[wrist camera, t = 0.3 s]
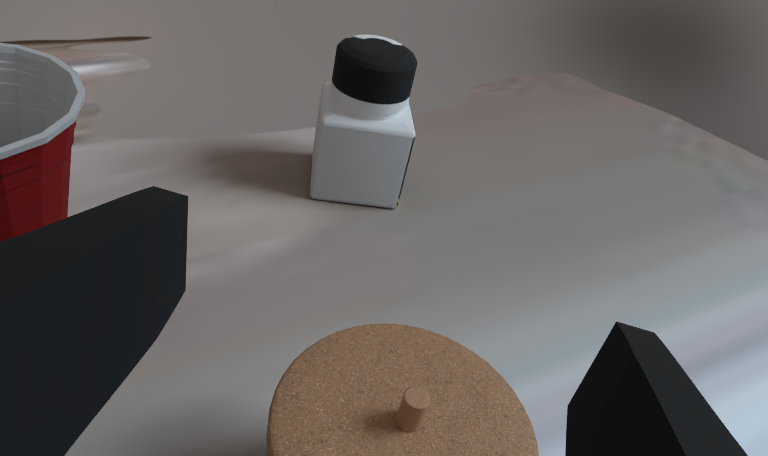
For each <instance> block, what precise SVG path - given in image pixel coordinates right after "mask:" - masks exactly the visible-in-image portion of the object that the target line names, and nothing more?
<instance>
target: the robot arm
mask: <svg viewBox="0 0 768 456" xmlns="http://www.w3.org/2000/svg"><path fill="white" fill-rule="evenodd" d="M187 218H188V196H185V195H182V194H178V193H175V192H172V191H168V190H165V189H161V188H158V187H155V186H153V187H149V188H146V189H143V190H140V191H137V192H134V193H131V194H129V195H126V196H123V197H120V198H118V199H115V200H112V201H110V202H107V203H105V204H102V205H99V206H97V207H94V208H92V209H89V210H86V211H84V212H81V213H78V214H76V215H73V216H70V217H68V218H65V219H62V220H60V221H57V222H54V223H52V224H49V225H46V226H44V227H41V228H38V229H36V230H33V231H30V232H27V233H25V234H22V235H19V236H16V237H13V238H10V239H7V240H4V241H1V242H0V456H64V455H65V454H66V453H67V451H68V450H69V449H70V447H71V446H72V445H73V444H74V442H75V441H76V440H77V439H78V437H79V436H80V435H81V434H82V432H83V431H84V430H85V429H86V427H87V426H88V425H89V424H90V422H91V421H92V420H93V419H94V417H95V416H96V415H97V414H98V412H99V411H100V410H101V409H102V407H103V406H104V405H105V404H106V402H107V401H108V400H109V399H110V397H111V396H112V395H113V394H114V392H115V391H116V390H117V389H118V387H119V386H120V385H121V384H122V382H123V381H124V380H125V379H126V377H127V376H128V375H129V373H130V372H131V371H132V370H133V368H134V367H135V366H136V365H137V363H138V362H139V361H140V360H141V358H142V357H143V356H144V354H145V353H146V352H147V351H148V349H149V348H150V347H151V345H152V344H153V343H154V341H155V340H156V339H157V337H158V336H159V334H160V332H161V331H162V329H163V328H164V326H165V324H166V323H167V321H168V319H169V318H170V316H171V314H172V313H173V311H174V309H175V308H176V306H177V304H178V302H179V301H180V299H181V297H182V295H183V294H184V292H185V286H186V252H187ZM566 456H748V455H747V454H746V453H745V451H744V450H743V449H742V448H741V446H740V445H739V444H738V442H737V441H736V440H735V439H734V437H733V436H732V435H731V433H730V432H729V431H728V429H727V428H726V427H725V425H724V424H723V423H722V421H721V420H720V419H719V417H718V416H717V415H716V413H715V412H714V411H713V409H712V408H711V407H710V405H709V404H708V403H707V401H706V400H705V399H704V397H703V396H702V395H701V393H700V392H699V390H698V389H697V388H696V386H695V385H694V384H693V382H692V381H691V380H690V378H689V377H688V375H687V374H686V373H685V371H684V370H683V369H682V367H681V366H680V365H679V363H678V362H677V361H676V359H675V358H674V357H673V355H672V354H671V353H670V351H669V350H668V349H667V348H666V346H665V345H664V344H663V342H662V341H661V340H660V339H659V338H658V336H657V335H656V334H655V333H654V332H650V331H647V330H643V329H640V328H637V327H633V326H630V325H626V324H623V323H619V322H616V323H615V325H614V327H613V328H612V330H611V332H610V334H609V335H608V337H607V339H606V341H605V342H604V344H603V346H602V347H601V349H600V351H599V353H598V354H597V356H596V358H595V360H594V361H593V363H592V365H591V366H590V368H589V370H588V372H587V373H586V375H585V377H584V379H583V380H582V382H581V384H580V385H579V387H578V389H577V391H576V392H575V394H574V396H573V398H572V399H571V401H570V403H569V404H568V410H567V429H566Z"/></svg>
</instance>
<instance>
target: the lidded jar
mask: <svg viewBox="0 0 768 456" xmlns="http://www.w3.org/2000/svg"><path fill="white" fill-rule="evenodd" d="M267 449H268V453H267V456H539V453H538V445H537V441H536V437H535V434H534V431H533V427H532V424H531V422H530V420H529V418H528V415H527V413H526V411H525V409H524V407H523V405H522V404H521V402H520V400H519V399H518V397H517V395H516V394H515V392H514V391H513V389H512V388H511V387H510V386H509V384H508V383H507V382H506V381H505V380H504V379H503V377H502V376H501V375H500V374H499V373H498V372H497V371H496V370H495V369H494V368H493V367H492V366H491V365H490V364H489V363H488V362H486V361H485V360H483V359H482V358H481V357H479V356H478V355H477V354H475V353H474V352H473V351H471V350H469V349H468V348H466V347H464V346H463V345H461V344H459V343H458V342H456V341H454V340H451V339H449V338H447V337H444V336H442V335H440V334H437V333H434V332H431V331H428V330H425V329H421V328H416V327H411V326H406V325H397V324H370V325H363V326H356V327H352V328H349V329H345V330H342V331H339V332H336V333H334V334H332V335H329V336H327V337H325V338H323V339H321V340H319V341H318V342H316V343H315V344H313V345H312V346H310V347H309V348H307V349H306V350H305V351H304V352H303V353H302V354H301V355H299V356H298V357H297V358H296V359H295V360H294V361H293V362H292V364H291V365H290V366H289V368H288V369H287V370H286V372H285V373H284V374H283V376H282V378H281V380H280V382H279V384H278V386H277V388H276V390H275V393H274V396H273V399H272V403H271V406H270V411H269V419H268V428H267Z"/></svg>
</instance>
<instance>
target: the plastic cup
mask: <svg viewBox="0 0 768 456" xmlns="http://www.w3.org/2000/svg"><path fill="white" fill-rule="evenodd" d="M85 94H86V92H85V90H84V87H83V85H82V82H81V80H80V77H79V75H78V73H77V72H76V71H75V70H73V69H72V68H71V67H69V66H68V65H66V64H65V63H63V62H62V61H60V60H59V59H58V58H56V57H55V56H53V55H49V54H46V53H43V52H40V51H36V50H33V49H30V48H27V47H23V46H20V45H14V44H4V43H0V242H1V241H4V240H7V239H10V238H13V237H16V236H19V235H22V234H25V233H27V232H30V231H33V230H36V229H38V228H41V227H44V226H46V225H49V224H52V223H54V222H57V221H60V220H62V219H65V218H67V213H68V196H69V179H70V162H71V147H72V144H73V141H74V128H75V126H76V118H77V116H78V114H79V111H80V109H81V107H82V104H83V102H84V99H85Z"/></svg>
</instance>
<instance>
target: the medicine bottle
mask: <svg viewBox="0 0 768 456" xmlns="http://www.w3.org/2000/svg"><path fill="white" fill-rule="evenodd" d="M416 67H417V60H416V58H415V56H414V54H413V53H412V52H411V51H410V50H409V49H408V48H406V47H405V46H403V45H402V44H400V43H398V42H396V41H394V40H392V39H389V38H385V37H381V36H376V35H357V36H352V37H348V38H345V39H344V40H342V42H340V43H339V44H338V46H337V50H336V56H335V63H334V69H333V76H332V82H329V81H325V82H323V84H322V89H321V97H320V103H319V111H318V118H317V125H316V132H315V139H314V146H313V155H312V170H311V186H310V196H311V198H313V199H318V200H326V201H334V202H343V203H351V204H359V205H367V206H375V207H384V208H392V209H394V208H396V207H397V206H398V202H399V198H400V194H401V190H402V186H403V183H404V179H405V175H406V171H407V167H408V163H409V159H410V155H411V151H412V147H413V143H414V139H415V130H414V125H413V121H412V116H411V112H410V107H409V102H408V101H409V96H410V92H411V88H412V84H413V80H414V75H415V71H416Z"/></svg>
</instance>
